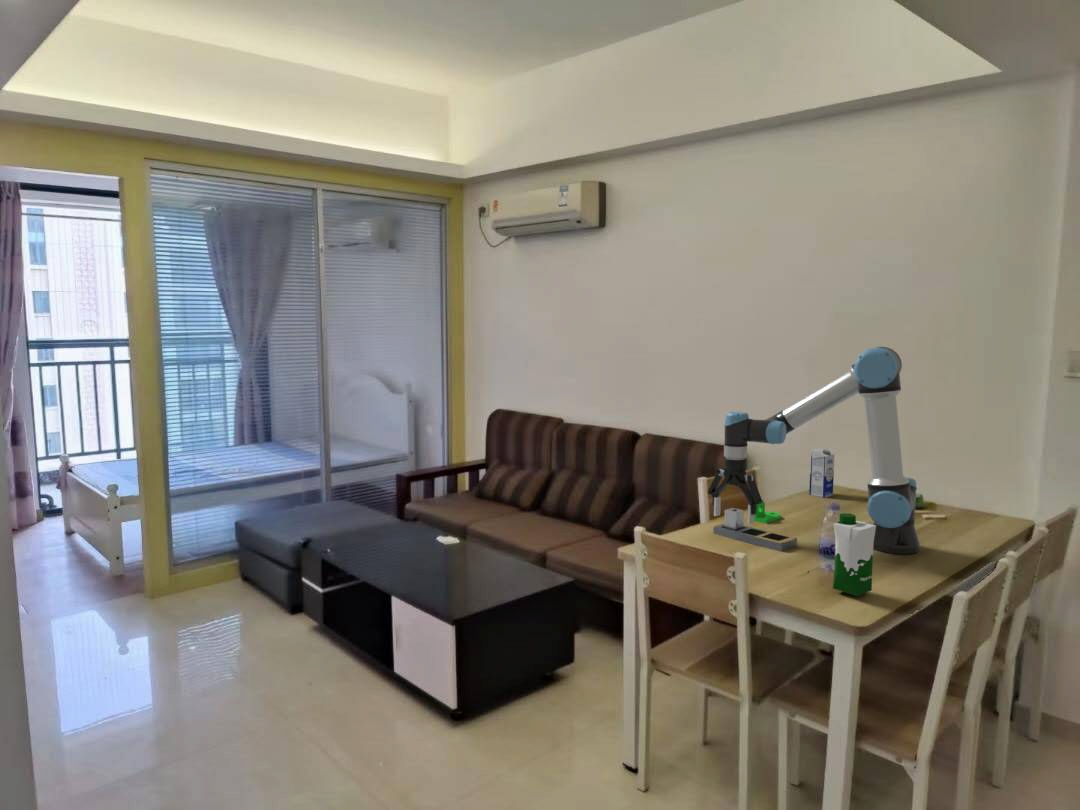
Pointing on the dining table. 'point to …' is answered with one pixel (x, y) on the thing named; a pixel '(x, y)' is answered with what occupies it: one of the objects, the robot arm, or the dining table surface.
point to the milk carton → (821, 473)
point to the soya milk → (853, 555)
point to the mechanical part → (765, 514)
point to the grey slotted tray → (758, 537)
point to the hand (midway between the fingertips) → (733, 519)
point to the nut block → (733, 519)
